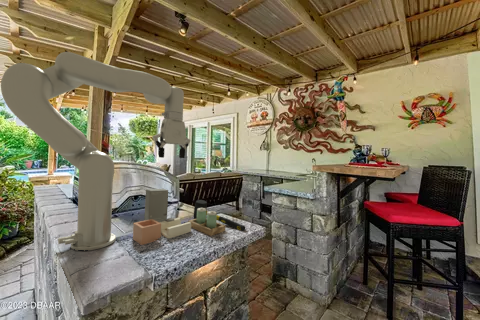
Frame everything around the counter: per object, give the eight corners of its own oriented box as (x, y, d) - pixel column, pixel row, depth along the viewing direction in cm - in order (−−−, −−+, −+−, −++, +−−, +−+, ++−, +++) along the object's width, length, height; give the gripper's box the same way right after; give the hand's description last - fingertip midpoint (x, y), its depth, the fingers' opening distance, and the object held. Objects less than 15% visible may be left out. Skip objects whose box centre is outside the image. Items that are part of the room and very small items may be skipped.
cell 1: (200, 228, 86) (201, 209, 86) (194, 225, 89) (195, 208, 89) (207, 226, 89) (208, 208, 89) (201, 223, 92) (202, 206, 92)
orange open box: (141, 245, 70) (142, 228, 70) (132, 239, 74) (133, 222, 74) (160, 239, 75) (161, 223, 75) (151, 234, 80) (152, 218, 80)
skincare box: (148, 228, 85) (149, 191, 85) (143, 223, 91) (144, 188, 90) (168, 224, 91) (169, 189, 91) (162, 220, 96) (163, 187, 96)
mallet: (248, 230, 89) (249, 209, 88) (240, 235, 84) (241, 211, 83) (199, 217, 104) (200, 198, 104) (190, 220, 99) (191, 200, 99)
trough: (210, 237, 79) (211, 230, 79) (187, 227, 89) (187, 220, 89) (225, 232, 85) (225, 225, 85) (202, 223, 95) (202, 217, 95)
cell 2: (211, 232, 82) (211, 213, 81) (204, 230, 84) (205, 211, 84) (218, 230, 85) (218, 211, 85) (211, 228, 87) (212, 209, 87)
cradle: (168, 240, 74) (168, 227, 74) (156, 233, 81) (156, 221, 80) (190, 233, 82) (191, 221, 82) (178, 227, 88) (178, 216, 88)
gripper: (158, 112, 77) (156, 157, 77) (195, 120, 90) (194, 158, 91) (149, 114, 82) (147, 156, 82) (185, 121, 95) (184, 157, 96)
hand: (172, 157), depth 86 cm, fingers open, 9 cm apart
